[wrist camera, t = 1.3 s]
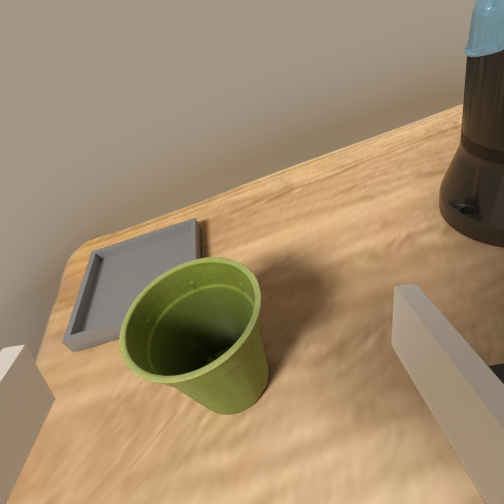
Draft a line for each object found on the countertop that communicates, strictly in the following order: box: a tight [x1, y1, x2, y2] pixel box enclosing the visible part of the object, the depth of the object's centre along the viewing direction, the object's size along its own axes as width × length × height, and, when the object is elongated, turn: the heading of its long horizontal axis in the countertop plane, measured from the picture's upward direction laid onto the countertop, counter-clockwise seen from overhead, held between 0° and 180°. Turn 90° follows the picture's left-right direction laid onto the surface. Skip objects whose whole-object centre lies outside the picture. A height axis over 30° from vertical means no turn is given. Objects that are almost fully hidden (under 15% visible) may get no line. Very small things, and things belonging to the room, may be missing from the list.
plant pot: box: [119, 257, 269, 415], centre depth 33 cm, size 12×12×11 cm
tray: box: [62, 218, 202, 352], centre depth 51 cm, size 17×17×2 cm
